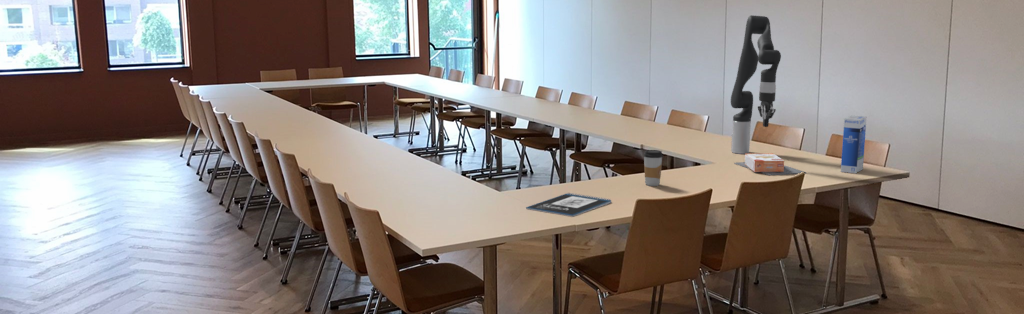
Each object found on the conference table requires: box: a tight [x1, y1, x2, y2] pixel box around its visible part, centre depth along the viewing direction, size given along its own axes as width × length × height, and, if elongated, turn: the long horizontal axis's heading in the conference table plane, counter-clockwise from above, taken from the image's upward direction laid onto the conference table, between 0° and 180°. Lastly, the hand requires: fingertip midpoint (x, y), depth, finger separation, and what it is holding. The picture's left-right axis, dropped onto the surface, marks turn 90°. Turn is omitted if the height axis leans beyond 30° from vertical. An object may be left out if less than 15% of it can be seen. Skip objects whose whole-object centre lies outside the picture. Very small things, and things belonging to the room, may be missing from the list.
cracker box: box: [744, 152, 785, 173], centre depth 420 cm, size 14×6×21 cm
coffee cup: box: [643, 149, 664, 187], centre depth 384 cm, size 8×8×15 cm
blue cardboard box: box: [840, 115, 867, 174], centre depth 415 cm, size 13×8×26 cm, turn 145°
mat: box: [734, 161, 807, 176], centre depth 423 cm, size 32×20×1 cm, turn 15°
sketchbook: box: [525, 192, 612, 217], centre depth 345 cm, size 22×30×2 cm
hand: (765, 126), depth 424 cm, fingers closed
